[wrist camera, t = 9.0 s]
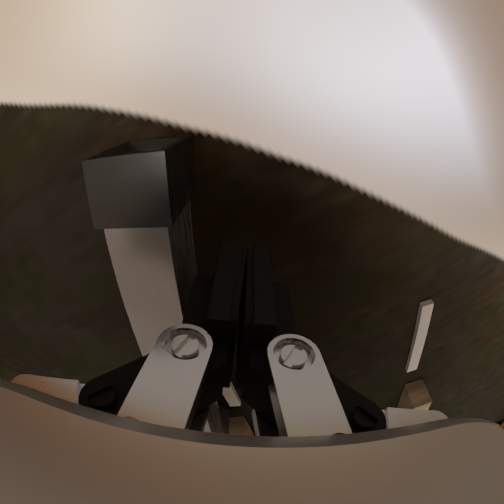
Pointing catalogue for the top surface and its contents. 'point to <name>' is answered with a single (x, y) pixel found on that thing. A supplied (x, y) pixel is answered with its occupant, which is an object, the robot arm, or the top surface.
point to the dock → (410, 399)
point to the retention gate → (150, 234)
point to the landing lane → (413, 357)
